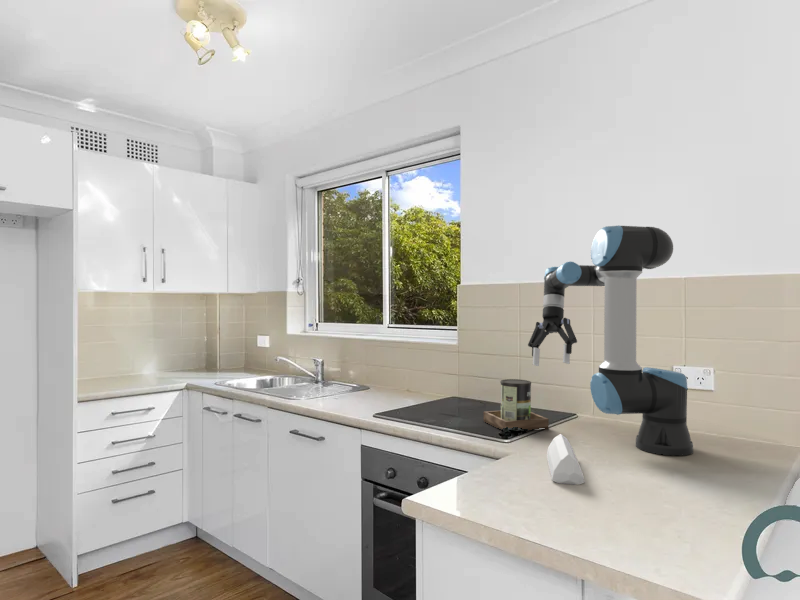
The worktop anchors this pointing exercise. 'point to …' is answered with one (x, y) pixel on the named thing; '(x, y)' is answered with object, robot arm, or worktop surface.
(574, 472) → the crystal
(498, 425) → the tray
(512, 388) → the coffee can
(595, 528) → the worktop surface
